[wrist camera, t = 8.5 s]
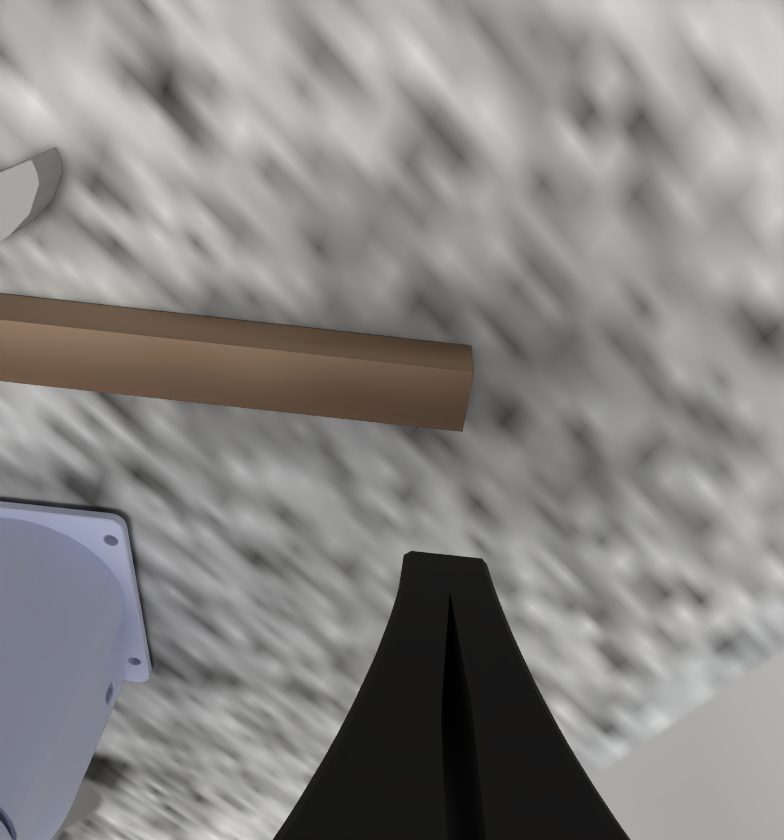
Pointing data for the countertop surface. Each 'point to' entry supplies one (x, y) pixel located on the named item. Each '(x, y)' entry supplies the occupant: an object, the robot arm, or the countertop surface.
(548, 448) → the countertop surface
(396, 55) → the countertop surface
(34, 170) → the adjustable wrench
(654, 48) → the countertop surface
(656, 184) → the countertop surface
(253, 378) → the guide channel
